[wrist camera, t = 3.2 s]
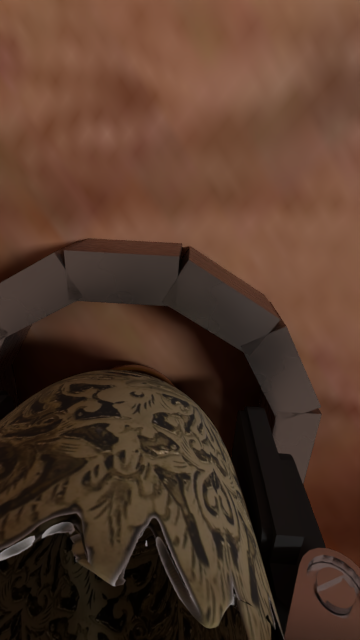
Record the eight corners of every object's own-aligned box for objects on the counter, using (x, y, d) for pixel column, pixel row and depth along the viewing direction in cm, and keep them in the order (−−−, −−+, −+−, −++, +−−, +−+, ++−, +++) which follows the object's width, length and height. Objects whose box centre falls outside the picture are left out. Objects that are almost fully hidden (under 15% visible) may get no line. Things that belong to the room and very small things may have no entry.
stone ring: (328, 251, 10) (360, 266, 8) (269, 518, 14) (280, 569, 12) (-53, 230, 10) (-110, 240, 8) (7, 499, 14) (-21, 545, 12)
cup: (145, 500, 14) (88, 852, 7) (-1, 399, 12) (-299, 722, 5) (279, 399, 12) (425, 763, 4) (124, 258, 10) (-80, 462, 3)
